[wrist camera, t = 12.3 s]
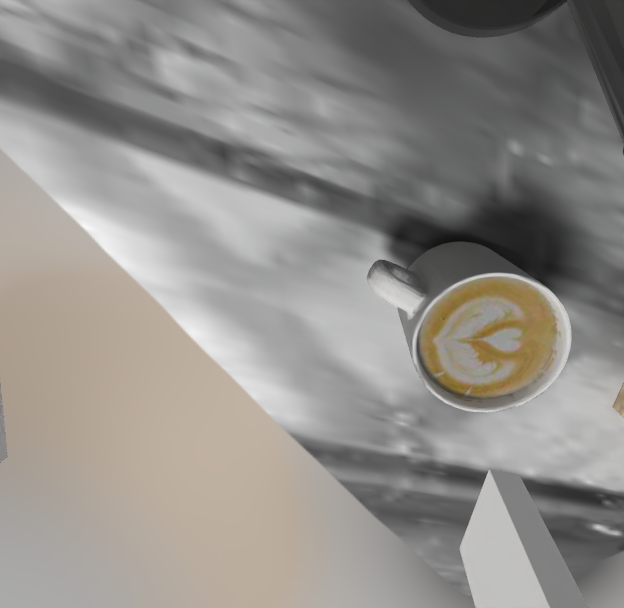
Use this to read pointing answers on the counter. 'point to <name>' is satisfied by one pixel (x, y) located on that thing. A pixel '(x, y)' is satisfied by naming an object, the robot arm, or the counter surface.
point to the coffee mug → (476, 325)
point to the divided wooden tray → (620, 402)
